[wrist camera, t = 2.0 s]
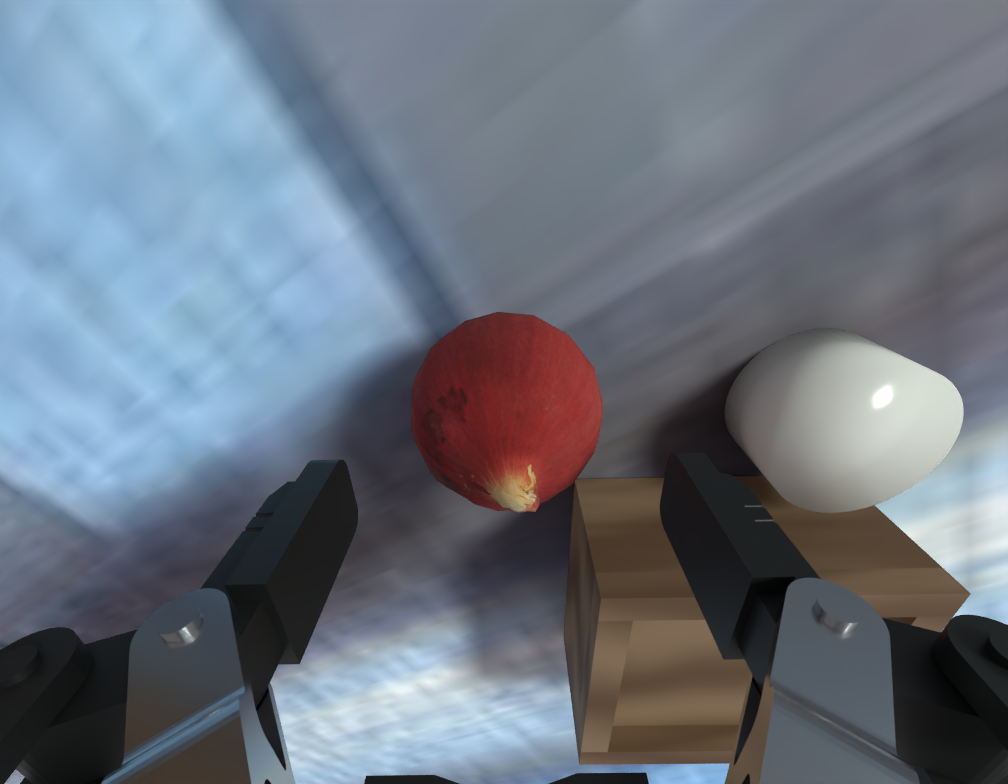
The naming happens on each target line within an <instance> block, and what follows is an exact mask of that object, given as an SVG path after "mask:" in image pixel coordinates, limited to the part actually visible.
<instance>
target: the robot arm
mask: <svg viewBox="0 0 1008 784" xmlns="http://www.w3.org/2000/svg"><path fill="white" fill-rule="evenodd" d="M660 517H661V521H662V525H663V528H664V530H665V532H666V534H667V537H668V539H669V541H670V543H671V545H672V548H673V550H674V552H675V554H676V556H677V559H678V561H679V563H680V565H681V567H682V570H683V572H684V574H685V576H686V579H687V581H688V583H689V585H690V587H691V590H692V592H693V594H694V596H695V598H696V601H697V603H698V605H699V607H700V609H701V612H702V614H703V616H704V618H705V620H706V623H707V625H708V627H709V629H710V631H711V634H712V636H713V638H714V640H715V642H716V645H717V647H718V649H719V651H720V653H721V656H722V658H723V660H735V659H745V661H746V663H747V665H748V667H749V669H750V671H751V673H752V674H751V676H750V679H749V682H748V685H747V690H746V694H745V699H744V703H743V708H742V712H741V716H740V721H739V725H738V730H737V734H736V739H735V743H734V747H733V752H732V756H731V761H730V765H729V769H728V773H727V777H726V781H725V784H1008V625H1006V624H1003V623H1001V622H998V621H996V620H992V619H989V618H986V617H981V616H976V615H959V616H955V617H954V618H952V619H951V620H950V621H949V623H948V624H947V625H946V627H945V628H944V629H943V631H942V632H937V631H933V630H929V629H925V628H921V627H917V626H913V625H909V624H905V623H901V622H897V621H893V620H889V619H885V618H882V617H881V616H880V615H879V614H878V613H877V611H876V610H875V609H874V608H873V607H872V606H871V605H870V604H869V603H867V602H866V601H865V600H864V599H862V598H861V597H860V596H858V595H857V594H855V593H854V592H852V591H850V590H848V589H847V588H845V587H843V586H840V585H838V584H836V583H833V582H830V581H827V580H823V579H821V578H820V577H819V576H818V574H817V573H816V572H815V571H814V569H813V568H812V567H811V566H810V564H809V563H808V562H807V561H806V559H805V558H804V557H803V555H802V554H801V553H800V552H799V550H798V549H797V548H796V547H795V545H794V544H793V543H792V542H791V540H790V539H789V538H788V536H787V535H786V534H785V533H784V531H783V530H782V529H781V528H780V526H779V525H778V524H777V523H776V522H774V521H773V517H772V516H771V515H770V514H769V512H768V511H767V510H766V509H765V508H763V507H762V504H761V502H760V501H759V500H758V498H757V497H756V496H755V495H754V493H753V492H752V491H751V490H750V488H749V487H747V486H746V485H745V484H743V483H742V482H740V481H739V480H738V479H736V478H735V477H733V476H732V475H730V474H729V473H720V472H719V471H718V469H717V468H716V467H715V465H714V464H713V463H712V461H711V460H710V459H709V457H708V456H707V455H706V454H705V453H672V454H671V455H670V456H669V458H668V461H667V467H666V472H665V477H664V483H663V488H662V493H661V499H660ZM357 522H358V508H357V503H356V499H355V495H354V491H353V487H352V483H351V479H350V475H349V471H348V467H347V464H346V463H345V461H344V460H313V461H310V462H309V463H308V464H307V465H306V467H305V468H304V470H303V471H302V473H301V474H300V476H299V477H298V478H297V480H296V481H295V482H287V483H286V484H284V485H283V486H282V487H280V488H279V489H278V490H277V491H275V492H274V493H273V494H271V495H270V496H269V497H268V498H267V500H266V501H265V502H264V504H263V505H262V506H261V508H260V509H259V510H258V512H257V513H256V517H253V518H252V520H251V521H250V522H249V524H248V525H247V527H246V530H245V531H243V532H242V533H241V535H240V536H239V537H238V539H237V540H236V541H235V543H234V544H233V545H232V547H231V548H230V549H229V551H228V552H227V554H226V555H225V556H224V558H223V559H222V560H221V562H220V563H219V564H218V566H217V567H216V568H215V570H214V571H213V572H212V574H211V575H210V576H209V578H208V579H207V581H206V582H205V583H204V585H203V586H202V587H201V588H200V589H198V590H194V591H190V592H187V593H185V594H182V595H180V596H178V597H176V598H174V599H172V600H170V601H169V602H167V603H165V604H164V605H162V606H161V607H160V608H158V609H157V610H156V611H155V612H153V613H152V614H151V615H150V616H149V617H148V618H147V619H146V620H145V621H144V622H143V623H142V625H141V626H140V627H139V628H138V629H137V630H134V631H131V632H127V633H124V634H120V635H117V636H113V637H110V638H106V639H103V640H99V641H96V642H92V643H89V644H85V645H84V643H83V642H82V641H81V640H80V638H79V637H78V636H77V635H76V633H75V632H74V631H73V630H71V629H68V628H61V627H57V628H50V629H46V630H42V631H39V632H36V633H33V634H30V635H28V636H26V637H24V638H21V639H19V640H17V641H15V642H14V643H12V644H10V645H8V646H6V647H5V648H3V649H1V650H0V784H4V783H5V782H6V781H7V779H8V778H9V777H10V775H11V774H12V773H13V772H14V770H15V769H16V770H17V771H19V772H20V773H21V774H22V775H23V776H25V778H24V779H23V780H22V782H21V783H20V784H296V783H295V780H294V776H293V772H292V768H291V764H290V760H289V756H288V752H287V747H286V743H285V739H284V735H283V731H282V726H281V722H280V718H279V714H278V710H277V706H276V701H275V697H274V693H273V689H272V686H271V684H270V681H271V679H272V676H273V674H274V672H275V670H276V668H277V666H278V664H300V662H301V659H302V657H303V655H304V652H305V650H306V648H307V645H308V643H309V640H310V638H311V636H312V633H313V631H314V629H315V626H316V624H317V621H318V619H319V617H320V614H321V612H322V610H323V607H324V605H325V603H326V600H327V598H328V595H329V593H330V591H331V588H332V586H333V584H334V581H335V579H336V576H337V574H338V572H339V569H340V567H341V565H342V562H343V560H344V558H345V555H346V553H347V550H348V548H349V546H350V543H351V541H352V539H353V536H354V534H355V531H356V527H357ZM364 784H459V783H456V782H453V781H450V780H447V779H444V778H442V777H439V776H436V775H395V776H366V779H365V783H364ZM549 784H649V783H648V779H647V774H646V773H577V774H574V775H571V776H569V777H566V778H563V779H560V780H558V781H555V782H552V783H549Z"/></svg>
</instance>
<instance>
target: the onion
mask: <svg viewBox="0 0 1008 784" xmlns="http://www.w3.org/2000/svg"><path fill="white" fill-rule="evenodd" d="M602 415H603V407H602V398H601V394H600V390H599V386H598V382H597V378H596V374H595V370H594V367H593V366H592V365H591V363H590V362H589V361H588V359H587V358H586V357H585V355H584V354H583V353H582V351H581V350H580V349H579V347H578V346H577V345H576V344H575V342H574V341H573V340H572V338H571V337H570V336H568V335H567V334H566V333H565V332H563V331H561V330H559V329H557V328H556V327H554V326H552V325H550V324H548V323H547V322H545V321H543V320H541V319H540V318H538V317H536V316H534V315H524V314H514V313H503V312H496V313H492V314H489V315H485V316H482V317H478V318H474V319H471V320H467V321H465V322H463V323H462V324H461V325H459V326H458V327H456V328H455V329H454V330H452V331H451V332H450V333H448V334H447V335H446V336H444V337H443V338H442V339H440V340H439V341H438V342H437V343H436V344H435V345H434V346H433V347H432V348H431V350H430V352H429V353H428V355H427V357H426V359H425V361H424V363H423V364H422V366H421V368H420V370H419V372H418V374H417V375H416V377H415V379H414V384H413V390H412V413H411V430H412V433H413V436H414V440H415V442H416V444H417V446H418V448H419V450H420V452H421V454H422V456H423V458H424V460H425V462H426V464H427V466H428V468H429V470H430V472H431V473H432V474H433V476H434V477H435V478H436V480H437V481H439V482H440V483H442V484H443V485H444V486H446V487H448V488H449V489H451V490H453V491H454V492H456V493H458V494H460V495H461V496H463V497H465V498H466V499H468V500H469V501H471V502H472V503H474V504H476V505H479V506H483V507H486V508H490V509H493V510H497V511H504V510H510V511H517V512H520V513H523V512H526V511H531V512H536V510H537V508H538V507H539V504H540V503H543V502H546V501H548V500H549V499H551V498H552V497H554V496H555V495H557V494H558V493H560V492H561V491H563V490H564V489H566V488H567V487H569V486H571V485H572V484H573V483H574V482H575V480H576V479H577V477H578V476H579V474H580V473H581V471H582V470H583V468H584V467H585V465H586V464H587V462H588V461H589V459H590V458H591V456H592V455H593V453H594V451H595V448H596V445H597V442H598V437H599V432H600V426H601V421H602Z"/></svg>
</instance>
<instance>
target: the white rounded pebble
mask: <svg viewBox="0 0 1008 784" xmlns="http://www.w3.org/2000/svg"><path fill="white" fill-rule="evenodd" d="M962 421H963V404H962V399H961V396H960V394H959V392H958V390H957V389H956V387H955V386H954V385H953V384H952V383H951V382H950V381H949V380H948V379H947V378H945V377H944V376H942V375H940V374H938V373H936V372H934V371H932V370H930V369H928V368H926V367H924V366H922V365H920V364H918V363H916V362H913V361H911V360H909V359H907V358H905V357H903V356H901V355H899V354H897V353H895V352H892V351H890V350H888V349H886V348H884V347H882V346H880V345H878V344H876V343H874V342H872V341H869V340H867V339H865V338H863V337H861V336H859V335H857V334H855V333H852V332H849V331H846V330H841V329H836V328H820V329H812V330H807V331H802V332H799V333H796V334H792V335H790V336H788V337H785V338H783V339H781V340H779V341H777V342H775V343H773V344H772V345H770V346H769V347H767V348H766V349H764V350H763V351H761V352H760V353H759V354H758V355H756V356H755V357H754V358H753V359H752V360H751V361H750V362H749V363H748V364H747V365H746V366H745V367H744V368H743V369H742V371H741V372H740V373H739V374H738V376H737V378H736V379H735V381H734V382H733V384H732V386H731V388H730V390H729V393H728V396H727V399H726V404H725V422H726V426H727V429H728V431H729V433H730V435H731V436H732V438H733V439H734V440H735V441H736V443H737V444H738V445H739V446H740V447H741V449H742V450H743V451H744V452H745V453H746V455H747V456H748V457H749V458H750V459H751V461H752V462H753V463H754V464H755V465H756V466H757V468H758V469H759V470H760V471H761V472H762V474H763V475H764V476H765V477H766V478H767V480H768V481H769V482H770V483H771V484H772V486H773V487H774V488H775V489H776V490H777V492H778V493H779V494H780V495H781V496H782V497H783V498H784V499H785V500H786V501H788V502H789V503H791V504H793V505H794V506H797V507H799V508H802V509H805V510H809V511H814V512H821V513H838V512H848V511H854V510H858V509H863V508H866V507H870V506H873V505H876V504H879V503H881V502H884V501H886V500H888V499H890V498H893V497H895V496H897V495H899V494H900V493H902V492H904V491H906V490H907V489H909V488H911V487H912V486H913V485H915V484H916V483H918V482H919V481H921V480H922V479H923V478H924V477H925V476H927V475H928V474H929V473H930V472H931V471H932V470H933V469H934V468H935V467H936V466H937V465H938V464H939V463H940V462H941V461H942V460H943V459H944V457H945V456H946V455H947V454H948V452H949V451H950V449H951V448H952V446H953V445H954V443H955V441H956V439H957V437H958V435H959V432H960V429H961V426H962Z"/></svg>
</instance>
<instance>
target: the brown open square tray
mask: <svg viewBox="0 0 1008 784" xmlns="http://www.w3.org/2000/svg"><path fill="white" fill-rule="evenodd" d="M733 477H735V478H736V479H738V480H739V481H740V482H742V483H743V484H745V485H746V486H747V487H749V488H750V490H751V491H752V492H753V493H754V495H755V496H756V497H757V498H758V500H759V501H760V502H761V504H762V507H763V508H765V509H766V510H767V511H768V512H769V514H770V515H771V516H772V517H773V521H774V522H776V523H777V524H778V525H779V526H780V528H781V529H782V530H783V531H784V533H785V534H786V535H787V536H788V538H789V539H790V540H791V542H792V543H793V544H794V545H795V547H796V548H797V549H798V550H799V552H800V553H801V554H802V555H803V557H804V558H805V559H806V561H807V562H808V563H809V564H810V566H811V567H812V568H813V569H814V571H815V572H816V573H817V574H818V576H819V577H820V578H821V579H823V580H827V581H830V582H833V583H836V584H838V585H840V586H843V587H845V588H847V589H848V590H850V591H852V592H854V593H855V594H857V595H858V596H860V597H861V598H862V599H864V600H865V601H866V602H867V603H869V604H870V605H871V606H872V607H873V608H874V609H875V610H876V611H877V613H878V614H879V615H880V616H881V617H882V618H885V619H889V620H893V621H897V622H901V623H905V624H909V625H913V626H917V627H921V628H925V629H929V630H933V631H937V632H941V631H942V630H943V629H944V627H945V626H946V625H947V624H948V622H949V621H950V620H951V618H952V617H953V616H954V615H955V613H956V612H957V611H958V609H959V608H960V607H961V606H962V604H963V603H964V602H965V600H966V599H967V598H968V597H969V595H970V594H971V593H969V592H968V591H967V590H966V589H965V588H964V587H963V586H962V585H961V584H960V583H959V582H957V581H956V580H955V579H954V578H953V577H952V576H951V575H950V574H949V573H948V572H947V571H945V570H944V569H943V568H942V567H941V566H940V565H939V564H938V563H937V562H936V561H935V560H933V559H932V558H931V557H930V556H929V555H928V554H927V553H926V552H925V551H924V550H923V549H921V548H920V547H919V546H918V545H917V544H916V543H915V542H914V541H913V540H912V539H911V538H909V537H908V536H907V535H906V534H905V533H904V532H903V531H902V530H901V529H900V528H899V527H897V526H896V525H895V524H894V523H893V522H892V521H891V520H890V519H889V518H888V517H887V516H885V515H884V514H883V513H882V512H881V511H880V510H879V509H878V508H877V507H876V506H875V505H873V506H870V507H866V508H863V509H858V510H854V511H848V512H838V513H821V512H814V511H809V510H805V509H802V508H799V507H797V506H794V505H793V504H791V503H789V502H788V501H786V500H785V499H784V498H783V497H782V496H781V495H780V494H779V493H778V492H777V490H776V489H775V488H774V487H773V486H772V484H771V483H770V482H769V481H768V480H767V478H766V477H765V476H733ZM663 483H664V477H660V478H605V479H576V480H575V482H574V495H573V510H572V524H571V538H570V553H569V567H568V581H567V596H566V610H565V624H564V644H565V652H566V660H567V668H568V676H569V684H570V693H571V701H572V709H573V717H574V725H575V733H576V741H577V749H578V757H579V764H705V763H730V761H731V756H732V752H733V747H734V743H735V739H736V734H737V730H738V725H739V721H740V716H741V712H742V708H743V703H744V699H745V694H746V690H747V685H748V682H749V679H750V676H751V674H752V673H751V671H750V669H749V667H748V665H747V663H746V661H745V659H735V660H723V658H722V656H721V653H720V651H719V649H718V647H717V645H716V642H715V640H714V638H713V636H712V634H711V631H710V629H709V627H708V625H707V623H706V620H705V618H704V616H703V614H702V612H701V609H700V607H699V605H698V603H697V601H696V598H695V596H694V594H693V592H692V590H691V587H690V585H689V583H688V581H687V579H686V576H685V574H684V572H683V570H682V567H681V565H680V563H679V561H678V559H677V556H676V554H675V552H674V550H673V548H672V545H671V543H670V541H669V539H668V537H667V534H666V532H665V530H664V528H663V525H662V521H661V517H660V499H661V493H662V488H663Z"/></svg>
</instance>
